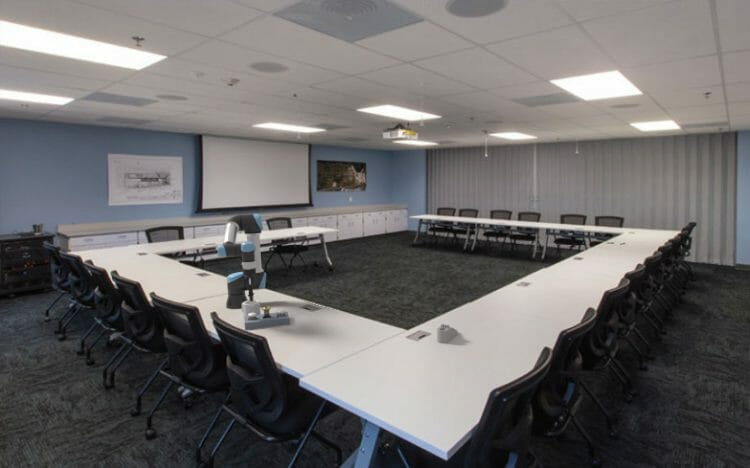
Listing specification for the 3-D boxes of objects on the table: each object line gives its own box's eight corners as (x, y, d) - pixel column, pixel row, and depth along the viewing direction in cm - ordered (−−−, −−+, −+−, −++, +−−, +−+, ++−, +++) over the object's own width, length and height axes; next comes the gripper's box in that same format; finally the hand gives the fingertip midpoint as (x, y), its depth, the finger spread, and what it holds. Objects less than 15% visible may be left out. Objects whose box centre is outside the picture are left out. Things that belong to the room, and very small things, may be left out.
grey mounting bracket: (458, 333, 231) (458, 319, 230) (445, 344, 216) (445, 329, 215) (449, 331, 234) (448, 318, 233) (435, 342, 219) (435, 327, 218)
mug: (264, 315, 272) (263, 300, 271) (252, 320, 262) (251, 304, 261) (248, 312, 277) (247, 298, 276) (236, 317, 268) (235, 302, 267)
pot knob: (262, 316, 257) (261, 306, 256) (270, 315, 258) (270, 305, 257) (262, 318, 252) (262, 308, 251) (271, 317, 253) (270, 307, 252)
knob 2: (276, 319, 259) (276, 310, 259) (285, 318, 261) (284, 309, 260) (277, 322, 255) (276, 312, 254) (285, 321, 256) (285, 311, 255)
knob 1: (248, 322, 255) (247, 313, 254) (257, 321, 256) (256, 312, 255) (248, 325, 250) (247, 315, 249) (257, 324, 251) (256, 314, 250)
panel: (245, 322, 258) (245, 316, 258) (287, 317, 266) (287, 311, 265) (245, 329, 245) (244, 323, 245) (289, 324, 252) (289, 318, 252)
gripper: (242, 266, 254) (245, 303, 257) (242, 270, 241) (245, 309, 245) (255, 265, 256) (258, 302, 259) (255, 269, 243) (258, 308, 247)
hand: (251, 305), depth 252 cm, fingers closed
